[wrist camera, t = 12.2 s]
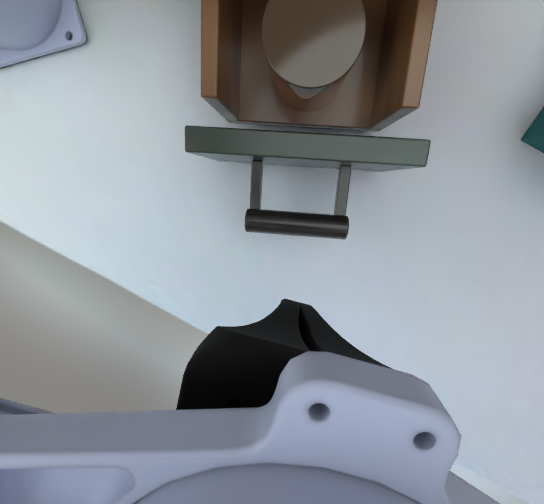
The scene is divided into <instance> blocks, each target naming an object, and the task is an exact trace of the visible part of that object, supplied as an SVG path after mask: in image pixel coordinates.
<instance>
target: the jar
mask: <svg viewBox="0 0 544 504" xmlns="http://www.w3.org/2000/svg"><path fill="white" fill-rule="evenodd" d="M365 35H366V14H365V9H364V5H363V2H362V0H269V1H268V3H267V5H266V8H265V11H264V14H263V19H262V26H261V39H262V46H263V50H264V54H265V58H266V61H267V64H268V68H269V73H270V77H271V82H272V86H273V88H274V91H275V93H276V94H277V96H278V97H279V99H280V100H281V101H282V102H283V103H284V104H286V105H287V106H289V107H290V108H292V109H295V110H298V111H304V112H307V111H315V110H318V109H320V108H322V107H324V106H326V105H327V104H329V103H330V102H331V101H332V100H333V99H334V98H335V97H336V95H337V94H338V93H339V91H340V89H341V87H342V85H343V83H344V81H345V80H346V78H347V76H348V74H349V72H350V70H351V69H352V68H353V66H354V64H355V62H356V61H357V59H358V57H359V55H360V52H361V50H362V47H363V44H364V41H365Z"/></svg>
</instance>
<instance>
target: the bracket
mask: <svg viewBox="0 0 544 504" xmlns="http://www.w3.org/2000/svg"><path fill="white" fill-rule="evenodd" d="M521 140H522V141H523V142H525V143H527V144H529V145H531V146H532V147H534V148H536V149H538V150H540V151H541V152H543V153H544V108H543V109H542V111H541V112H540V114H539V115H538V116H537V118H536V119H535V121H534V122H533V124H532V125H531V126H530V128H529V129H528V131H527V132H526V134H525V135H524V136H523V138H522V139H521Z"/></svg>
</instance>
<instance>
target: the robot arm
mask: <svg viewBox="0 0 544 504" xmlns="http://www.w3.org/2000/svg"><path fill="white" fill-rule="evenodd" d="M70 35H73V38H72V40H70ZM85 41H86V33H85V29H84V26H83V23H82V19H81V16H80V13H79V9H78V6H77V3H76V0H0V68H1V67H4V66H8V65H11V64H15V63H19V62H22V61H26V60H29V59H33V58H36V57H40V56H43V55H47V54H50V53H54V52H58V51H61V50H65V49H68V48H72V47H75V46H79V45H82V44H84V43H85ZM460 440H461V434H460V433H459V431H458V429H457V427H456V425H455V423H454V421H453V420H452V418H451V416H450V415H449V413H448V412H447V410H446V409H445V407H444V406H443V404H442V403H441V401H440V400H439V398H438V397H437V395H436V394H435V392H434V391H433V389H432V388H431V386H430V385H429V384H428V383H426V382H424V381H423V380H421V379H419V378H417V377H415V376H414V375H412V374H408V373H405V372H401V371H397V370H394V369H392V368H390V367H388V366H385V365H383V364H381V363H380V362H378V361H376V360H374V359H372V358H371V357H369V356H367V355H366V354H364V353H362V352H361V351H359V350H358V349H356V348H355V347H354V346H352V345H351V344H350V343H348V342H347V341H346V340H345V339H343V338H342V337H341V336H340V335H339V334H338V333H337V332H336V331H335V330H333V329H332V328H331V327H330V326H329V324H328V323H327V322H326V321H325V320H324V319H323V318H322V317H321V316H320V315H319V313H318V312H317V311H316V310H315V309H314V308H313V307H312V306H310V305H307V304H303V303H299V302H295V301H292V300H288V299H283V300H281V303H280V305H279V306H278V307H277V308H276V309H275V310H274V311H273V312H272V313H271V314H269V315H268V316H267V317H265V318H264V319H262V320H260V321H258V322H255V323H252V324H249V325H245V326H237V327H223V326H217V327H216V328H215V329H214V330H213V331H212V332H211V333H210V334H209V335H208V336H207V337H206V338H205V339H204V340H203V342H202V343H201V344H200V345H199V346H198V348H197V349H196V351H195V352H194V354H193V356H192V358H191V359H190V361H189V362H188V364H187V367H186V370H185V372H184V375H183V380H182V384H181V389H180V394H179V399H178V404H177V409H176V410H157V411H124V412H88V413H53V412H50V411H46V410H42V409H39V408H35V407H31V406H28V405H24V404H21V403H17V402H13V401H10V400H6V399H2V398H0V504H500V503H498V502H497V501H495V500H494V499H492V498H491V497H489V496H488V495H486V494H484V493H483V492H482V491H480V490H478V489H477V488H475V487H474V486H472V485H471V484H469V483H468V482H466V481H465V480H463V479H462V478H460V477H459V476H457V475H455V474H454V473H452V472H451V471H450V469H451V467H452V465H453V463H454V461H455V459H456V457H457V456H458V451H459V446H460Z"/></svg>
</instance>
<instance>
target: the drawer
mask: <svg viewBox="0 0 544 504" xmlns="http://www.w3.org/2000/svg"><path fill="white" fill-rule="evenodd" d="M268 1H269V0H201V97H202V98H203V99H205V100H206V101H207V102H208V103H209V104H210V105H211V106H212V107H213V108H214V109H215V110H217V111H218V112H219V113H220V114H221V115H222V116H223V117H224V118H225V119H226V120H227V121H228V122H230V123H243V124H260V125H278V126H295V127H313V128H331V129H348V130H366V131H380V130H381V129H383V128H385V127H387V126H388V125H390V124H392V123H393V122H395V121H397V120H399V119H400V118H402V117H404V116H405V115H407V114H409V113H411V112H412V111H414V110H416V109H417V108H419V105H420V99H421V93H422V87H423V81H424V75H425V70H426V64H427V58H428V52H429V46H430V41H431V35H432V29H433V23H434V17H435V12H436V6H437V0H362V2H363V5H364V9H365V14H366V35H365V41H364V44H363V47H362V50H361V52H360V55H359V57H358V59H357V61H356V62H355V64H354V66H353V68H352V69H351V70H350V72H349V74H348V76H347V78H346V80H345V81H344V83H343V85H342V87H341V89H340V91H339V93H338V94H337V95H336V97H335V98H334V99H333V100H332V101H331V102H330V103H329V104H327V105H326V106H324V107H322V108H320V109H318V110H315V111H307V112H304V111H298V110H295V109H292V108H290V107H289V106H287V105H286V104H284V103H283V102H282V101H281V100H280V99H279V97H278V96H277V94H276V93H275V91H274V88H273V86H272V82H271V77H270V73H269V68H268V64H267V61H266V58H265V54H264V50H263V46H262V39H261V26H262V19H263V14H264V11H265V8H266V5H267V3H268ZM430 142H431V141H430V140H428V139H411V138H393V137H376V136H359V135H342V134H324V133H307V132H290V131H272V130H255V129H238V128H220V127H203V126H185V151H186V152H188V153H192V154H196V155H199V156H203V157H207V158H210V159H214V160H218V161H225V162H241V163H252V171H251V193H250V209H247V211H246V215H245V230H246V232H255V233H269V234H282V235H295V236H308V237H321V238H334V239H346V237H347V234H348V229H349V219H348V216H345V215H346V207H347V199H348V191H349V183H350V175H351V170H366V171H381V172H382V171H391V170H400V169H410V168H419V167H425V166H426V164H427V159H428V153H429V148H430ZM263 164H272V165H288V166H303V167H319V168H335V169H339V174H338V182H337V191H336V200H335V208H334V215H329V214H316V213H302V212H288V211H274V210H260V208H261V194H262V175H263Z"/></svg>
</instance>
